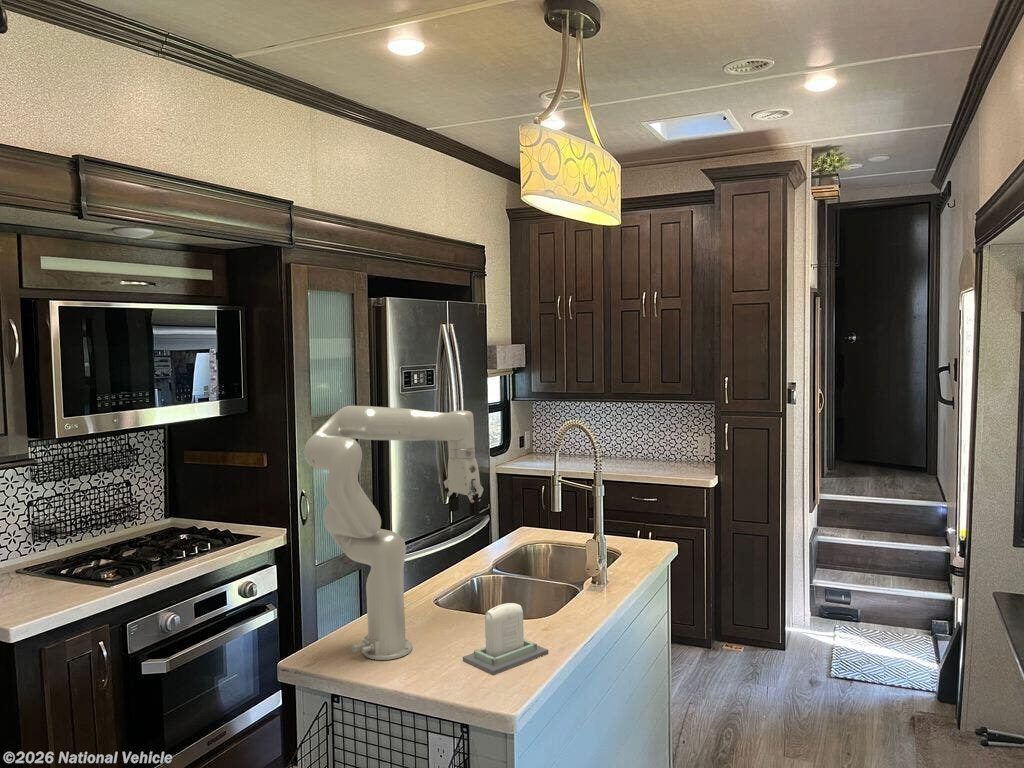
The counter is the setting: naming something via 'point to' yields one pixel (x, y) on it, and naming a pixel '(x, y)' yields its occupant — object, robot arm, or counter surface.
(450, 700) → the counter surface
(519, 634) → the photo printer
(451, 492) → the robot arm
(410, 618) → the counter surface
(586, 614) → the counter surface
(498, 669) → the dock
